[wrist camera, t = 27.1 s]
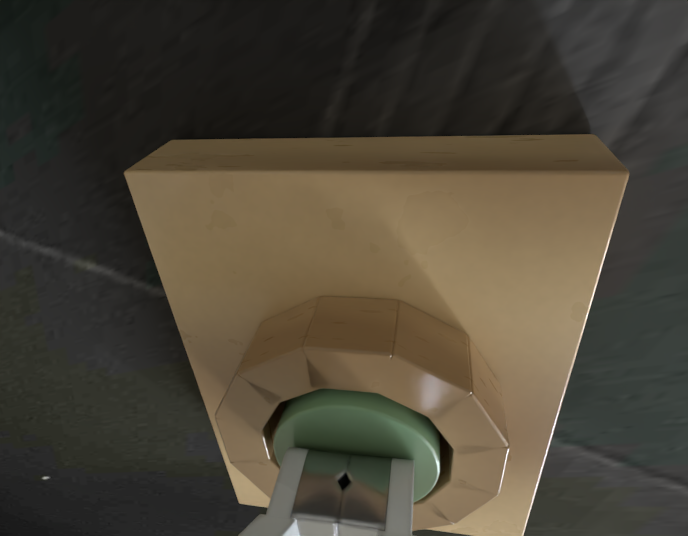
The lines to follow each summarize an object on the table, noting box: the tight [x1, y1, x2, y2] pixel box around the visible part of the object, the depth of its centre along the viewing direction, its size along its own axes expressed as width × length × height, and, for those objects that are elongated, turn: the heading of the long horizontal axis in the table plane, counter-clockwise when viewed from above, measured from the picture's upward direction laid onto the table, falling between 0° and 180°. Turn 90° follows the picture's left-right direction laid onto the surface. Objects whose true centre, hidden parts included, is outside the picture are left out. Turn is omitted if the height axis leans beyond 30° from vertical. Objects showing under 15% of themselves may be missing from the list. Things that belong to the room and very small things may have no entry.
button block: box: [124, 134, 629, 536], centre depth 13 cm, size 13×10×4 cm
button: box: [273, 388, 440, 503], centre depth 11 cm, size 4×4×2 cm
